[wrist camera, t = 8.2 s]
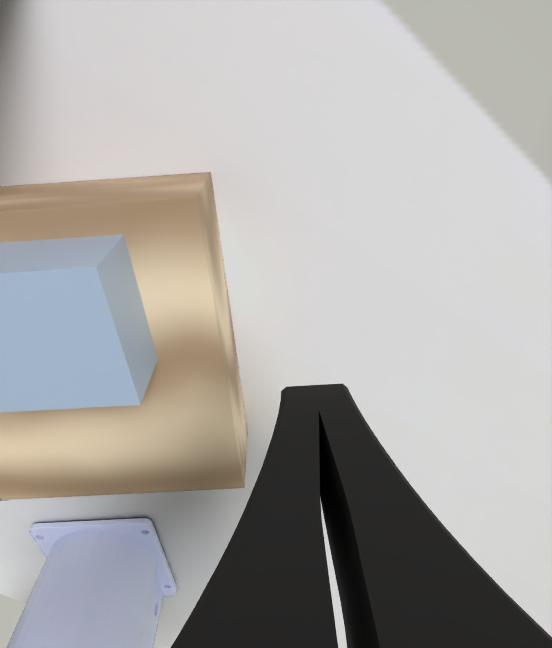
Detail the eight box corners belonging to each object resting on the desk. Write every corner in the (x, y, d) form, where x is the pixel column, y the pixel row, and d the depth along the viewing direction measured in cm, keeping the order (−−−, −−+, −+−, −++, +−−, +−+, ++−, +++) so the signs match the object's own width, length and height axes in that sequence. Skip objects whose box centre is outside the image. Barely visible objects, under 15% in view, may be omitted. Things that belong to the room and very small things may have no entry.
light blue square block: (157, 359, 16) (140, 404, 14) (29, 366, 16) (-7, 412, 14) (124, 234, 13) (96, 267, 11) (-30, 244, 13) (-86, 278, 11)
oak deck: (247, 433, 23) (244, 487, 20) (36, 444, 23) (2, 500, 20) (210, 172, 16) (196, 197, 13) (-100, 193, 16) (-186, 223, 13)
